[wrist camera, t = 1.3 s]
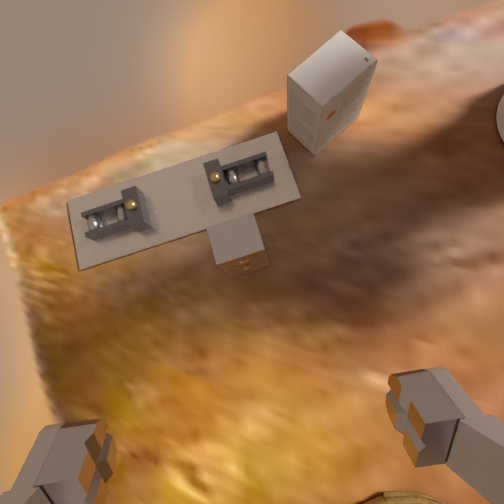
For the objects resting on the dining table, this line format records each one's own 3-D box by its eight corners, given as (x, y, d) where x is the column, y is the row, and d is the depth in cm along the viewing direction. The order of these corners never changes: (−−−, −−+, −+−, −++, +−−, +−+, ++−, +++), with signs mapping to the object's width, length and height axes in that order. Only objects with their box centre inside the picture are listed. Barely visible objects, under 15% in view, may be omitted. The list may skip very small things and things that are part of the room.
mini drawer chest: (259, 234, 43) (252, 210, 34) (269, 267, 42) (265, 251, 33) (221, 246, 43) (205, 226, 34) (231, 279, 42) (217, 266, 33)
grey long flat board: (276, 132, 45) (276, 117, 42) (301, 198, 43) (302, 187, 40) (68, 202, 46) (51, 192, 43) (81, 270, 44) (64, 265, 40)
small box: (329, 93, 46) (341, 27, 36) (358, 119, 45) (380, 58, 34) (285, 130, 45) (285, 73, 35) (314, 158, 44) (322, 107, 34)
